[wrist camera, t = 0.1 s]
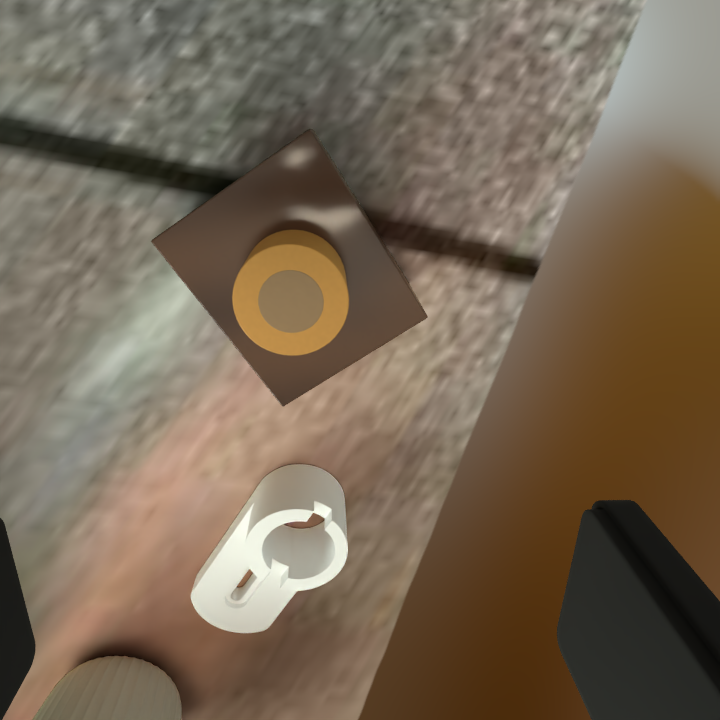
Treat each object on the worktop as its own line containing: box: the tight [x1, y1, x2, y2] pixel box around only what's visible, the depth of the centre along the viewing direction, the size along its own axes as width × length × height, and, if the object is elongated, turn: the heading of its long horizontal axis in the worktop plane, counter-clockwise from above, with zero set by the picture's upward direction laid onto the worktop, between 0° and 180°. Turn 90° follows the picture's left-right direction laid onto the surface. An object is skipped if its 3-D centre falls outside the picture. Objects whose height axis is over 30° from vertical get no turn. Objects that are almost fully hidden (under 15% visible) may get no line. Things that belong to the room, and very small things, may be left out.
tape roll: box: [232, 230, 349, 355], centre depth 34 cm, size 7×7×5 cm
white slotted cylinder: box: [191, 464, 348, 633], centre depth 52 cm, size 20×9×7 cm, turn 147°
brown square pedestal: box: [152, 129, 427, 406], centre depth 40 cm, size 14×12×9 cm
